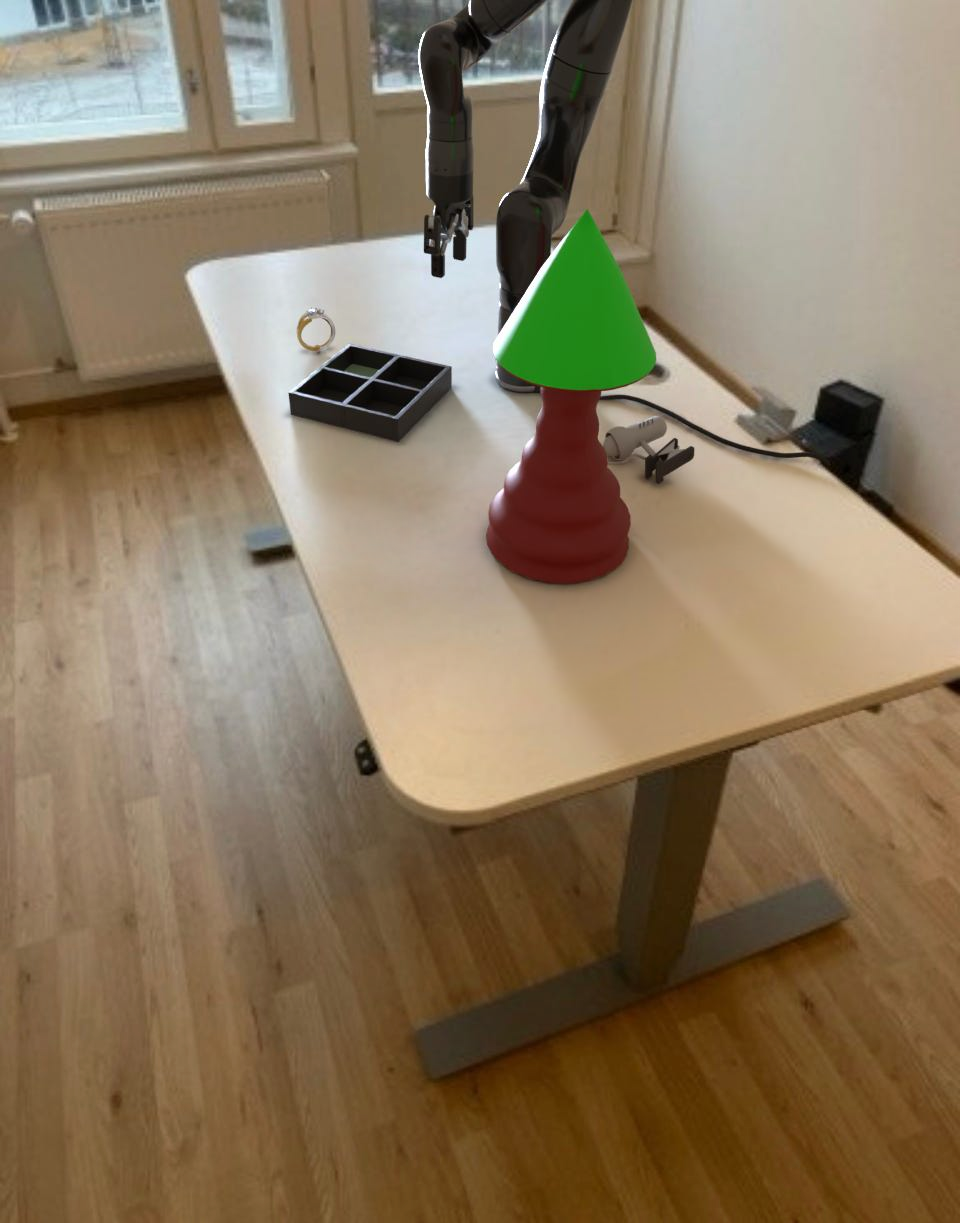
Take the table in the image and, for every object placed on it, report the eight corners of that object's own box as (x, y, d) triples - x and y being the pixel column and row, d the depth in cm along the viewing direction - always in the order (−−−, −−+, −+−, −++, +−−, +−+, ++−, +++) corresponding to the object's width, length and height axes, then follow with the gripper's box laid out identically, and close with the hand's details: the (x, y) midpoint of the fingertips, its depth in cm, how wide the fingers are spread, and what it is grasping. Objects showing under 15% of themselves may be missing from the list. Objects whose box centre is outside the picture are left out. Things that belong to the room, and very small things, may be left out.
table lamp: (541, 605, 124) (570, 255, 95) (458, 528, 136) (461, 197, 107) (658, 555, 133) (717, 220, 103) (570, 487, 145) (601, 170, 115)
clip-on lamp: (594, 515, 145) (698, 469, 147) (591, 484, 140) (699, 437, 143) (557, 469, 152) (657, 426, 155) (554, 438, 147) (657, 395, 150)
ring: (335, 345, 179) (331, 303, 174) (338, 353, 177) (334, 311, 172) (297, 349, 177) (293, 307, 172) (300, 357, 175) (295, 315, 170)
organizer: (451, 388, 168) (451, 366, 165) (398, 442, 154) (397, 419, 151) (350, 364, 173) (349, 343, 171) (290, 414, 159) (288, 392, 157)
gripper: (452, 182, 146) (451, 287, 157) (489, 158, 156) (486, 257, 167) (408, 175, 149) (410, 278, 159) (447, 151, 158) (446, 250, 169)
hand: (449, 267), depth 163 cm, fingers open, 8 cm apart
